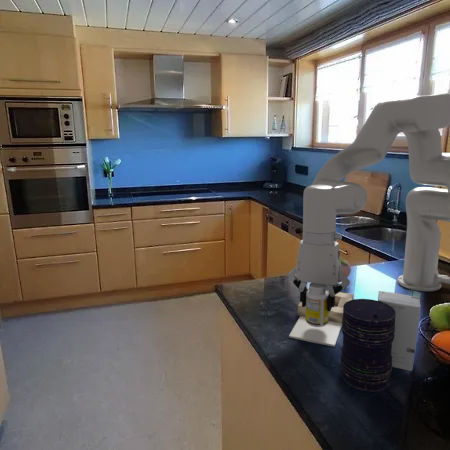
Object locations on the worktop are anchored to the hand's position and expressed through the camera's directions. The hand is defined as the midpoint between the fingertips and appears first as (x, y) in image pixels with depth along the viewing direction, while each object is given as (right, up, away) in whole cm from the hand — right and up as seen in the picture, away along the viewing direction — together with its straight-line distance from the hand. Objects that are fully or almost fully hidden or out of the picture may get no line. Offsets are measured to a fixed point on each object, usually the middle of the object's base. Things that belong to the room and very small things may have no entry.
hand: (317, 306), depth 93 cm
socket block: (+6, -4, +13) cm, 15 cm away
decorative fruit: (+14, +1, +31) cm, 34 cm away
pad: (0, -7, +2) cm, 7 cm away
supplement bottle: (0, -5, +1) cm, 5 cm away
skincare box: (+14, -10, -11) cm, 20 cm away
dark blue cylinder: (+6, -11, -16) cm, 20 cm away
